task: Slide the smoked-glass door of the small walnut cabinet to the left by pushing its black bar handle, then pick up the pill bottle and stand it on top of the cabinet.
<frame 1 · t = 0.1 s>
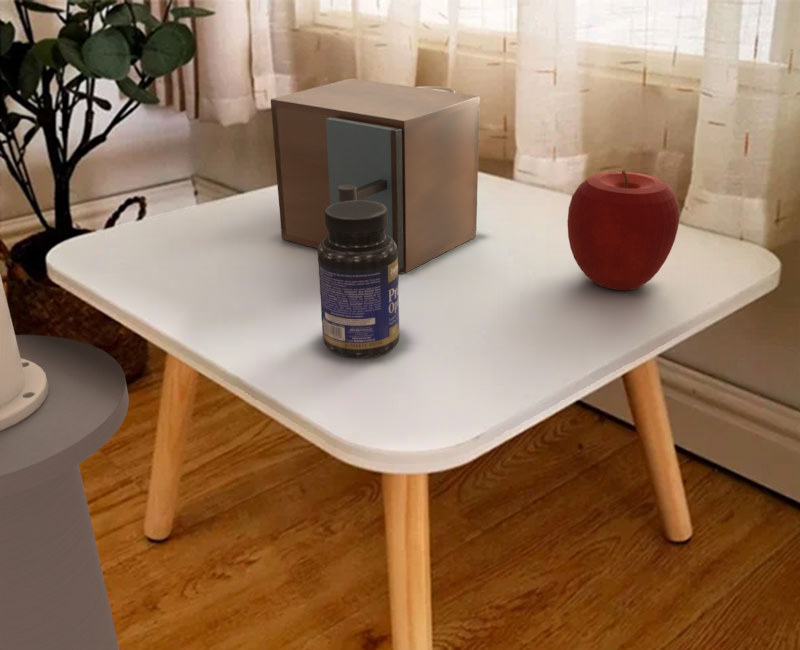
apple: (615, 284, 85), on the table
beverage can: (428, 201, 107), on the table
cabinet: (378, 237, 96), on the table
pill bottle: (361, 345, 75), on the table
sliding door: (344, 202, 84), point 7 cm above the table, slide at 0.0 cm
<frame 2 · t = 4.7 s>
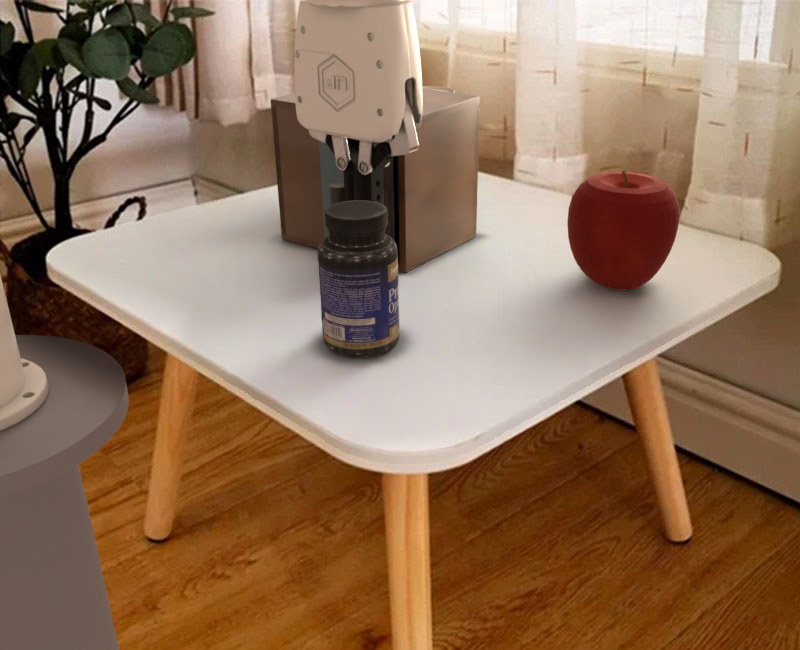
hand: (364, 214, 80), 7 cm above the table, tool pointing down, fingers closed
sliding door: (336, 200, 85), point 7 cm above the table, slide at 1.0 cm, touching gripper
everything else where it was.
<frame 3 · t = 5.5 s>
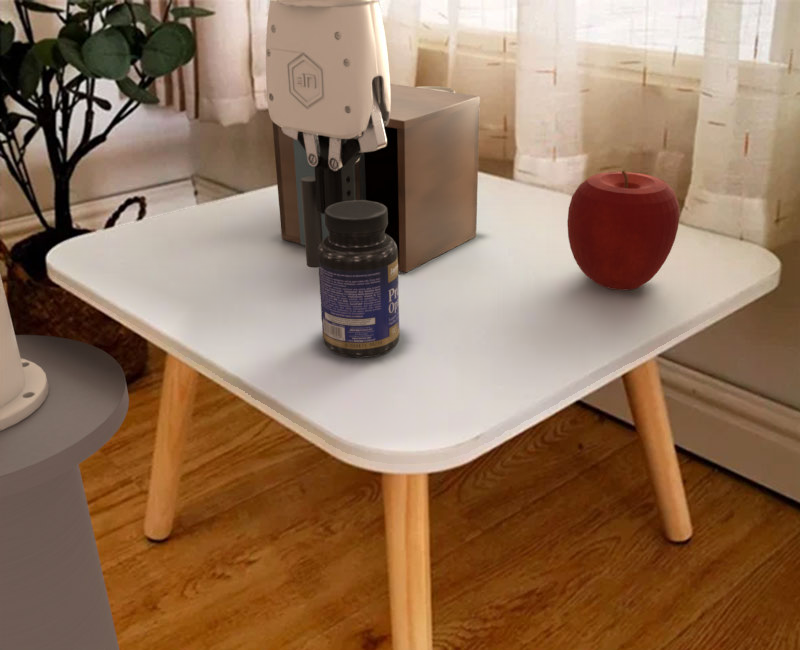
hand: (336, 210, 82), 7 cm above the table, tool pointing down, fingers closed
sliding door: (309, 194, 86), point 7 cm above the table, slide at 4.2 cm, touching gripper
everything else where it was.
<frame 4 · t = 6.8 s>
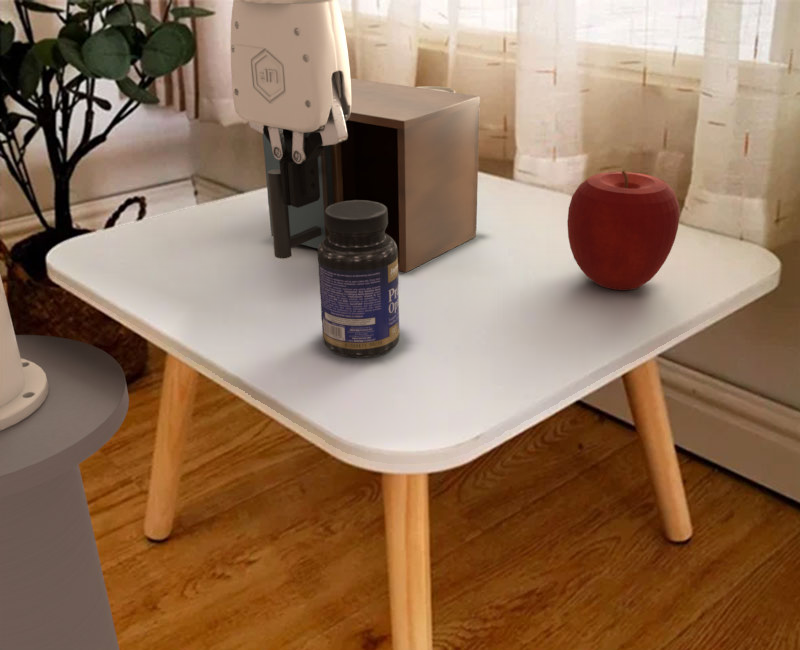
hand: (301, 202, 84), 7 cm above the table, tool pointing down, fingers closed
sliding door: (277, 187, 89), point 7 cm above the table, slide at 8.2 cm, touching gripper
everything else where it was.
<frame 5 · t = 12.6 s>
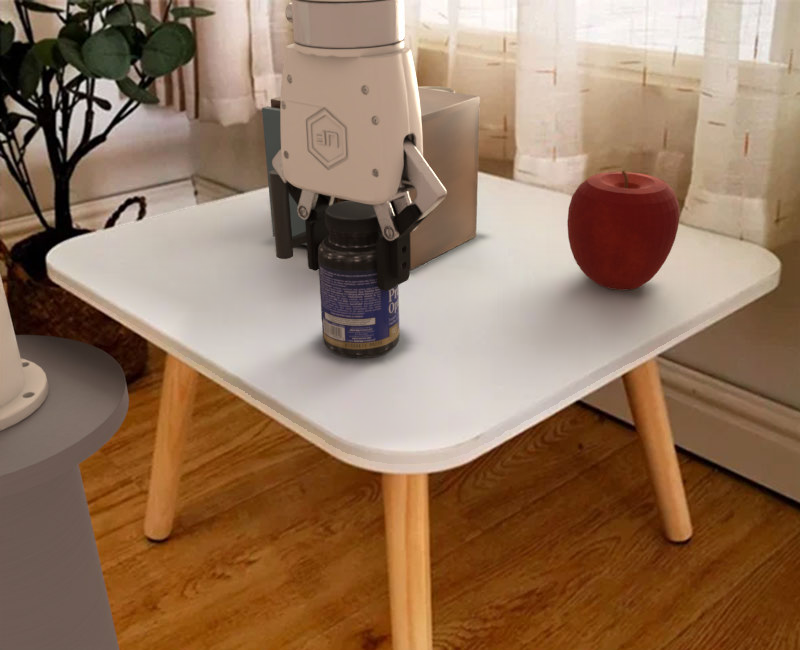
hand: (358, 272, 72), 6 cm above the table, tool pointing down, fingers closed on pill bottle, 6 cm apart
pill bottle: (361, 345, 75), on the table, touching gripper
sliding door: (279, 187, 88), point 7 cm above the table, slide at 8.0 cm
everything else where it was.
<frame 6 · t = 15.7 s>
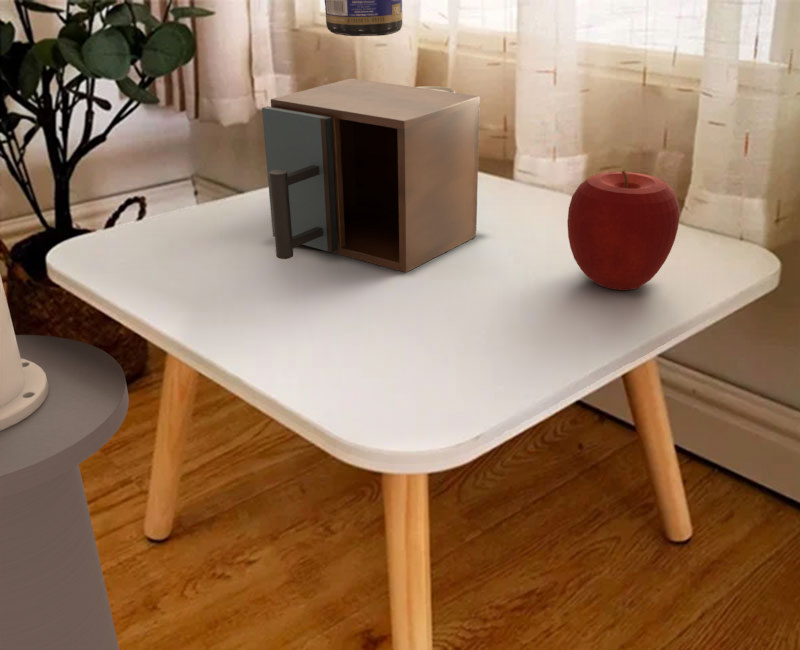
pill bottle: (364, 34, 76), point 21 cm above the table, touching gripper
everything else where it was.
when the fingers open (20 cm above the table, at t = 18.9 s): pill bottle stays where it is, resting on cabinet.
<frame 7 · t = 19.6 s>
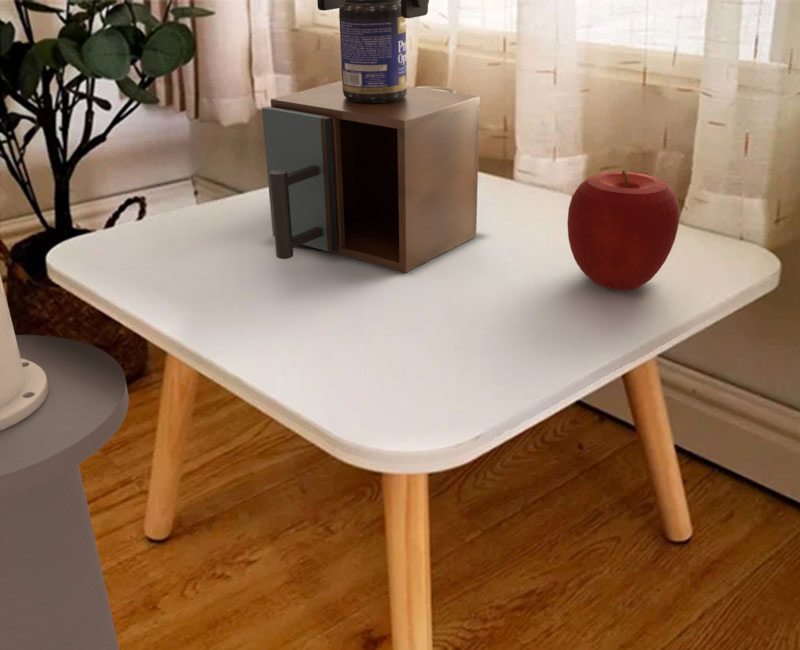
hand: (371, 12, 86), 22 cm above the table, tool pointing down, fingers open, 9 cm apart
pill bottle: (374, 99, 90), point 14 cm above the table, touching cabinet
everything else where it was.
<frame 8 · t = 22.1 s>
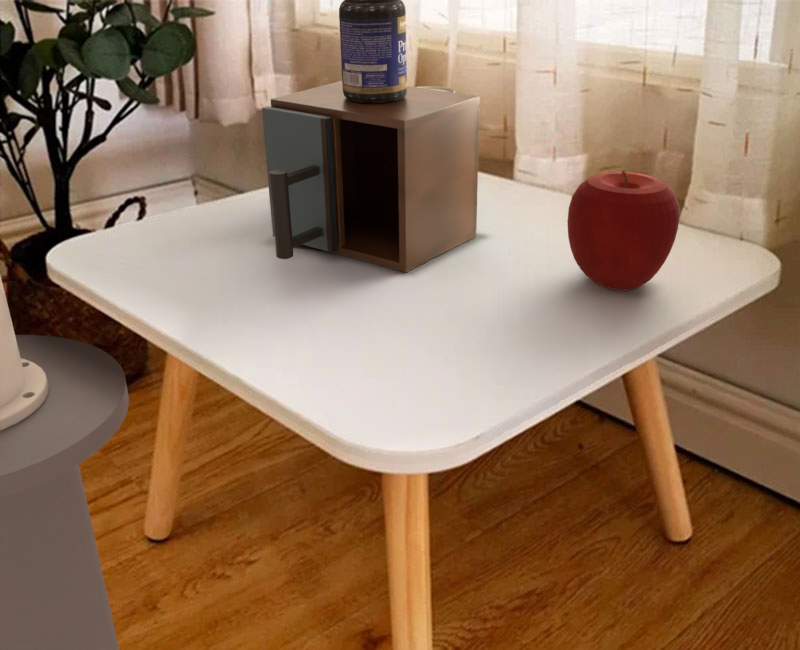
nothing on the table moved.
at the end: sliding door slide at 8.0 cm; pill bottle inside the target area on the cabinet (0.0 cm from its centre), point 13.8 cm above the cabinet's base; pill bottle tilted 0° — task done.
